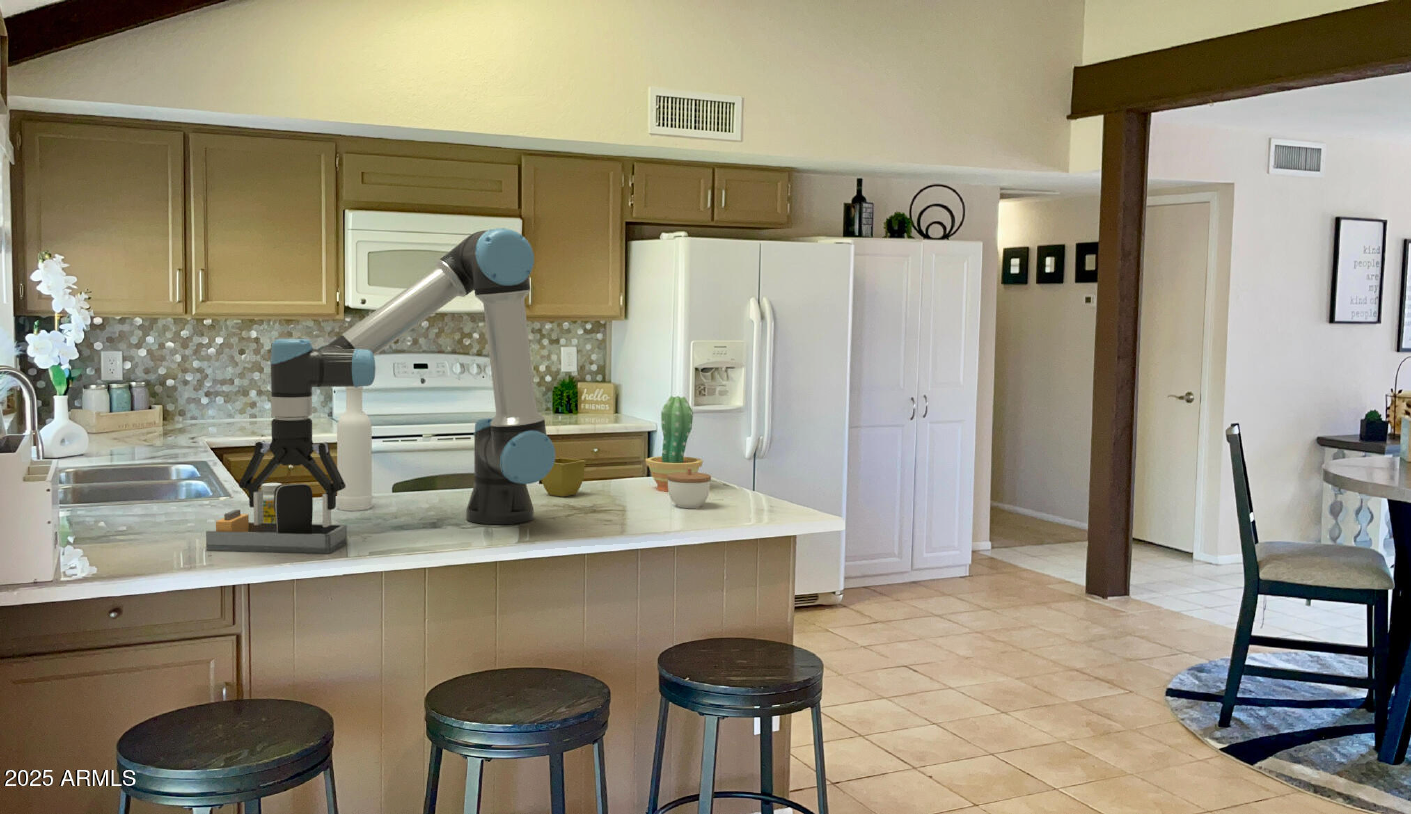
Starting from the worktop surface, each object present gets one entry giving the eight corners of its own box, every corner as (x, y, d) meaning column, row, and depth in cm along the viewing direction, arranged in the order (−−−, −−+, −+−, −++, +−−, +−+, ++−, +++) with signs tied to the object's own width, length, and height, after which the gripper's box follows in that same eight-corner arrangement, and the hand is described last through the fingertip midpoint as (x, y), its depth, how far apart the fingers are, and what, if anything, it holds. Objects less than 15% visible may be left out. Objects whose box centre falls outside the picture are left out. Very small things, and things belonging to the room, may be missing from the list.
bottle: (360, 503, 275) (360, 379, 272) (378, 508, 269) (378, 381, 267) (330, 507, 269) (329, 380, 266) (348, 512, 263) (348, 382, 261)
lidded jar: (702, 501, 289) (703, 465, 288) (716, 509, 279) (717, 471, 278) (661, 503, 286) (662, 465, 285) (673, 510, 275) (674, 472, 275)
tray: (346, 543, 231) (346, 524, 231) (329, 553, 221) (329, 534, 221) (229, 539, 231) (228, 521, 231) (206, 550, 221) (206, 531, 221)
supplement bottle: (290, 526, 245) (290, 482, 245) (277, 531, 240) (277, 486, 239) (267, 525, 246) (266, 481, 245) (253, 530, 241) (253, 485, 240)
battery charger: (308, 537, 230) (308, 481, 229) (313, 540, 226) (313, 483, 225) (272, 540, 226) (271, 483, 225) (277, 544, 222) (276, 486, 221)
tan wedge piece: (248, 533, 230) (248, 508, 230) (231, 542, 222) (231, 515, 222) (234, 533, 230) (233, 508, 230) (216, 541, 222) (215, 515, 222)
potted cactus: (712, 488, 310) (715, 396, 308) (682, 496, 297) (684, 400, 294) (665, 482, 318) (667, 393, 315) (633, 489, 305) (635, 396, 302)
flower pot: (537, 495, 293) (537, 460, 292) (560, 491, 300) (560, 457, 299) (563, 499, 288) (563, 463, 287) (586, 494, 295) (586, 460, 294)
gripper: (361, 417, 227) (361, 522, 229) (237, 414, 228) (238, 519, 230) (348, 421, 220) (349, 530, 222) (220, 418, 220) (221, 526, 222)
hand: (292, 524), depth 226 cm, fingers open, 13 cm apart
